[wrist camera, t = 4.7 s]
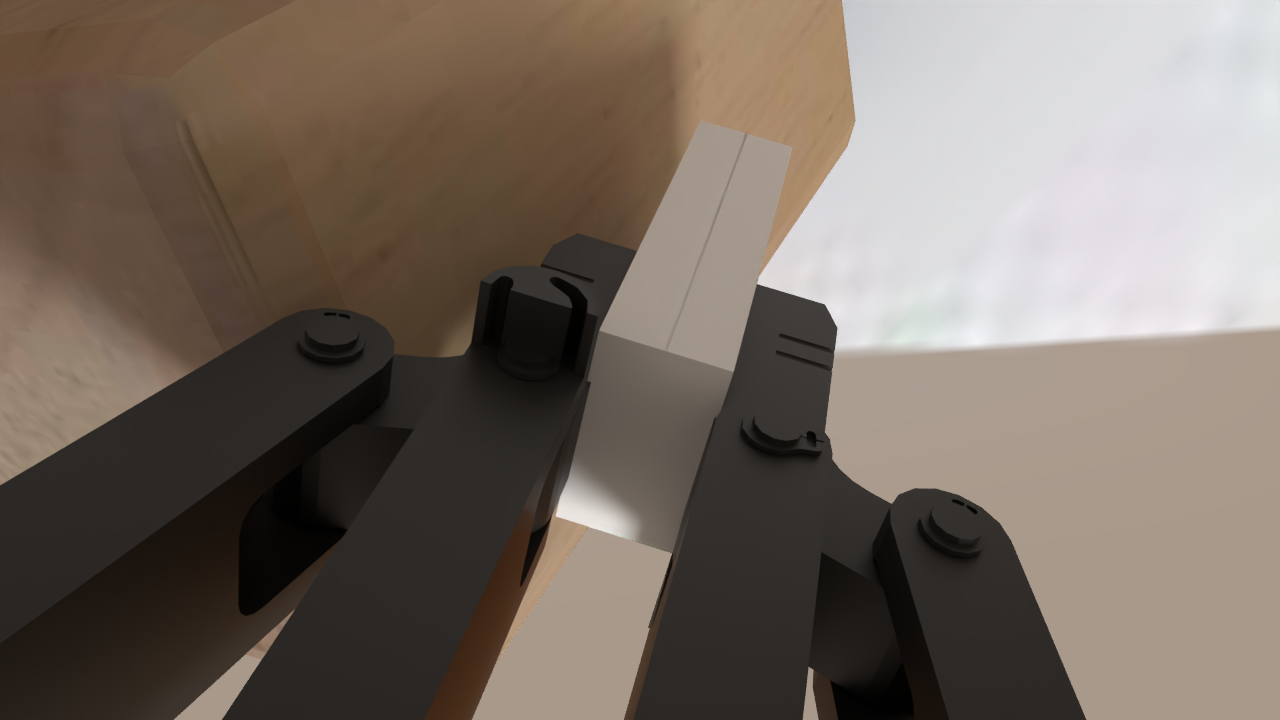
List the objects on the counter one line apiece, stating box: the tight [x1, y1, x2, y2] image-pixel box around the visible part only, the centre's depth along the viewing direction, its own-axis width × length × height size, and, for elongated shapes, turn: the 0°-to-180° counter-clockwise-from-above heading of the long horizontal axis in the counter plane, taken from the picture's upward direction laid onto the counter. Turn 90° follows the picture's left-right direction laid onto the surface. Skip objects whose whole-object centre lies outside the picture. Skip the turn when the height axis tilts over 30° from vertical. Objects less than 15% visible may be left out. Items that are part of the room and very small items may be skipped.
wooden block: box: [0, 0, 855, 662], centre depth 22 cm, size 10×10×20 cm
